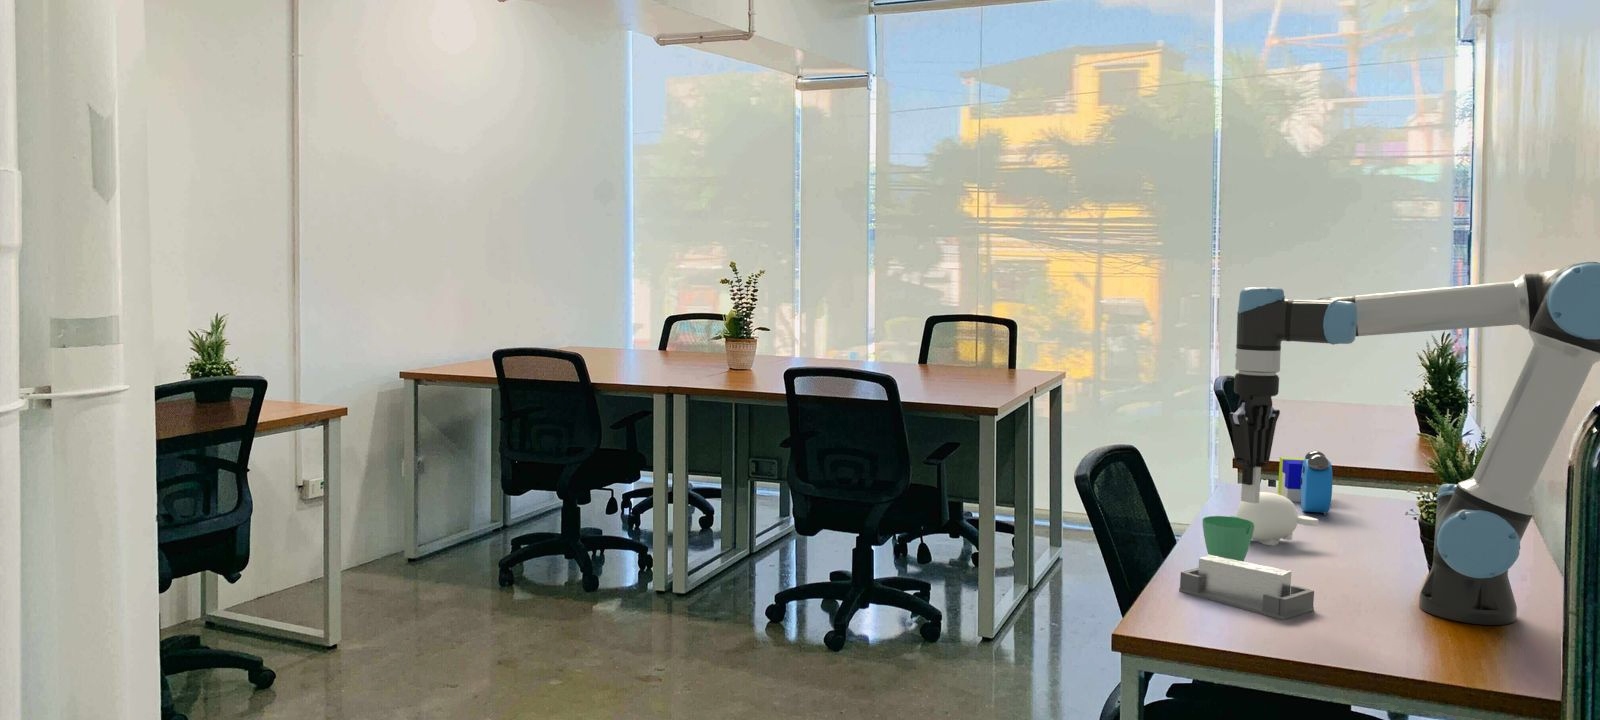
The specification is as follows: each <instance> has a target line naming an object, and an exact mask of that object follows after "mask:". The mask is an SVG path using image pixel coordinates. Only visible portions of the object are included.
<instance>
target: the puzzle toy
mask: <svg viewBox="0 0 1600 720" xmlns="http://www.w3.org/2000/svg"><path fill="white" fill-rule="evenodd" d="M1304 460H1305V457H1288V456H1287V457H1286V456H1280V457H1279V464H1278V465H1279V466H1278V468H1279V469H1278V481H1277V482H1278V485H1277V487H1278V488H1277V494H1278V493H1279V494H1278V495H1281V496H1284V497H1286V498H1288V499H1289V500H1290V501H1291V502H1296V503H1297V502H1298V503H1301V474H1302V466H1303V462H1304Z"/></svg>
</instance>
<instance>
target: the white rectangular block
mask: <svg viewBox="0 0 1600 720" xmlns="http://www.w3.org/2000/svg"><path fill="white" fill-rule="evenodd" d="M1198 568H1199V571H1198V575H1199V576H1202V581H1201V591H1205V592H1210V593H1214V594H1219V595H1223V596H1228V597H1232V598H1237V599H1241V600H1245V601H1250V602H1254V603H1259V604H1263V594H1266V593H1267V594H1271V595H1275V596H1279V597H1286V596H1289V595H1290V593H1291V586H1292V585H1291V584H1292V571H1291V570H1287V569H1281V568H1277V567H1272V566H1267V565H1261V564H1257V563H1252V562H1247V561H1244V562H1243V561H1238V560H1233V559H1228V558H1223V557H1218V556H1213V555H1208V554H1207V555H1204V556H1202V557H1199V559H1198Z"/></svg>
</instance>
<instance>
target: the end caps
mask: <svg viewBox="0 0 1600 720" xmlns="http://www.w3.org/2000/svg"><path fill="white" fill-rule="evenodd" d="M1198 571H1199V567H1195V568H1192V569H1187V570H1183V571H1180V575H1179V576H1180V578H1179V581H1180V582H1179V588H1178V591H1179V592H1181V593H1185V594H1188V595H1193V596H1195V597H1199V598H1202V599H1207V600H1211V601H1213V602H1217V603H1221V604H1224V605H1228V606H1232V607H1236V608H1239V609H1243V610H1246V611H1249V612H1252V613H1257V614H1261V615H1263V616H1264V615H1265V616H1267V617H1270V618H1275V619H1277V620H1278V619H1279V620H1282V621H1284V620H1288V619H1292V618H1295V617H1297V616H1300V615H1304V614H1306V613H1310V612H1312V611H1314V610H1315V607H1314V600H1315V590H1312V589H1309V588H1306V587H1302V586H1299V585H1294V584H1293V585H1291V588H1290V595H1289V596H1286V597H1279V596H1275V595H1271V594H1267V593H1266V594H1263V604H1259V603H1254V602H1250V601H1245V600H1241V599H1237V598H1232V597H1228V596H1223V595H1219V594H1214V593H1210V592H1205V591H1201V581H1202V576H1199V575H1198Z"/></svg>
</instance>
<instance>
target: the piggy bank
mask: <svg viewBox="0 0 1600 720" xmlns="http://www.w3.org/2000/svg"><path fill="white" fill-rule="evenodd" d="M1236 516H1237V517H1239V518H1242V519H1246V520H1249V521H1251V522H1253V523H1254V531H1253V535H1252V539H1251V540H1254V541H1256V542H1259V543H1261V544H1263V545H1267V546H1276V545H1278V544H1280V539H1283V540H1287V541H1291V540H1293V533H1294V531H1295V530H1296V528H1297V526H1298V524H1299V525H1303V526H1310V527H1311V526H1312V527H1316V526H1319V519H1318V518H1315V517H1311V516H1308V515H1299V514H1298V510H1297V507H1296V505H1295V504H1294V503H1293V501H1290V500H1289V499H1288V498H1286V497H1284V496H1281V495H1279V494H1278V493H1274V492H1268V491H1260V496H1259V503H1255V504H1254V503H1249V502H1244V501H1241V500H1240V502H1239V504H1238V507H1237V512H1236Z"/></svg>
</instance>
